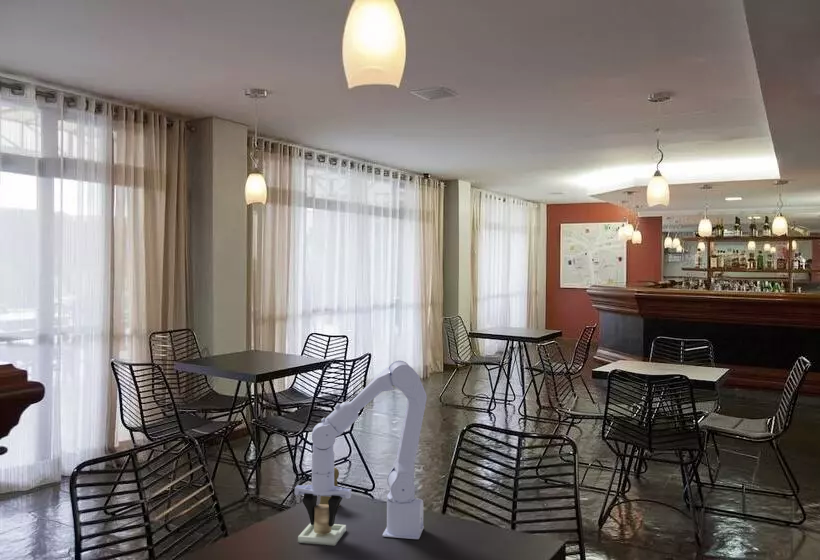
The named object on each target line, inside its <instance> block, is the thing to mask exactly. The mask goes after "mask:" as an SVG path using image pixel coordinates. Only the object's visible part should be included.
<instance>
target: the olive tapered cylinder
mask: <svg viewBox="0 0 820 560" xmlns="http://www.w3.org/2000/svg"><path fill="white" fill-rule="evenodd" d="M339 475H340V471H339V468H337V467H335V466H334V486H337V487H339V484H338V479H339ZM319 497H320V499H319V505H320V504H327V505H328V500H329V499H330V498H331V497H329V496H319ZM339 506H340V507H341V503H340V504H339Z"/></svg>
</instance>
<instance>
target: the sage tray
mask: <svg viewBox="0 0 820 560" xmlns="http://www.w3.org/2000/svg"><path fill="white" fill-rule="evenodd" d="M346 531H347V524H341V523H340V524H339V523H338V524H337V523H334V525H333V526H331V532H329V533H327V534H317V533H315V532H314V525H311V522H309V523H308V525H307V526H306V527H304V529H303V530H302V532H300V534H298V536H297V544H298V543H300V544H312V545H323V546H326V545H327V546H334V547H335V546H336V545H337V544H338V542H339V541H340V539H341V538H342V537H343V535H345V533H346Z"/></svg>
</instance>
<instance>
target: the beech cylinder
mask: <svg viewBox="0 0 820 560" xmlns="http://www.w3.org/2000/svg"><path fill="white" fill-rule="evenodd" d="M314 532H315V533H317V534H327V533H329V532H331V526H329V505H327V504H320V503H319V504H316V506H315V507H314Z"/></svg>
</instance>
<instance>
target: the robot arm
mask: <svg viewBox="0 0 820 560" xmlns="http://www.w3.org/2000/svg"><path fill="white" fill-rule="evenodd" d="M393 386H394V387H395V388H397V389H398V390H399V391H401V392H402V393H403V396H405V398H406V399H407V401H406V406H405V411H404V416H403V422H402V427H401V433H400V437H399V441H398V446H397V447H398V448H397V452H396V458H395V459H394V461H393V464H392V468H391V470H390V472H388V474H387V477H386V484H387V485H388V487H389V492H388V494H387V495H386V527H385V529H384V531H383V532H382V537H383V538H398V539H409V540H419V539H420V537H421V536H422V533H423V530H424V528H425V526H424V501H423V499H422V498H416V497H415V493H416V485H415V482H414V481H415V480H414V479H415V462H416V455H417V451H418V446H419V440H420V435H421V431H422V427H423V426H422V425H423V420H424V415H425V409H426V404H427V401H428V400H427V399H428V397H427V393H426V390H425V388H424V385H423V383H422V380H421V378H420V374H418V372H416V370H415V369H414V368H413V367H412V366H411V365H409V364H408V363H407V362H406V361H404V360H395V361H393V362H392V363H391V364H390V365H388V367H385V368H384V369H382V371H380V373H378V374H377V375H376V376H375V377H374V378H373V379H372V380H371V381H370V382H369V383H368V384H367V385H366V386H365V387H364V388H363V389H362V390H361V391H360V392H358V394H357V395H356V396H355V397H354V398H353V399H352V400H351V401H342V403H336V405H335V406H334V410H333V411H331V413H329V414H328V415H327V416H326V417H323V418H321V420H320V421H321V422H318V423H317V424H315V426H314V427H313V429H312V431H311V440H312V441H311V442H312V448H311V451H312V453H311V484H309V485H308V484H307V485H305V484H304V485H301V484H299V485H298V484H297V485H296V486H295V487H294V495H295V496H300V495H303V498H302V499H301V500H302V503H303V505H304V506H305V509H306V511H307V513H308V518H309V523H311V525H314V507H315V506H316V505H317V503H318V502H317V501H318V496H319V497H321V496H329V497H331V498H330V499H329V500H328V505H329V526H333V525H334V524H335V520H336V516H337V512H338V509H339V508H340V507H339V504H340V505H341V503H342V500H343V498H344V499H348V500H349V499H351V497H352V488H346V487H341V486H338V487H337V486H334V467H335V451H334V445H335V442H336V438H337V437H340V436H341V435H342V434H343V433H344V432H345V431H346V430H348V428H349V427H351V426H352V425H353V424H354V423H355V422H356V421H357V420H358V419H359V412H360V411H361V410H362V409H363V408H364V407H366V406H367V405H368V404H369V403H370V402H372V401H373V400H374V399H375V398H376V397H377V396H378V395H379V394H381V393H382V392H390V391H394V387H393ZM338 507H339V508H338Z"/></svg>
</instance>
